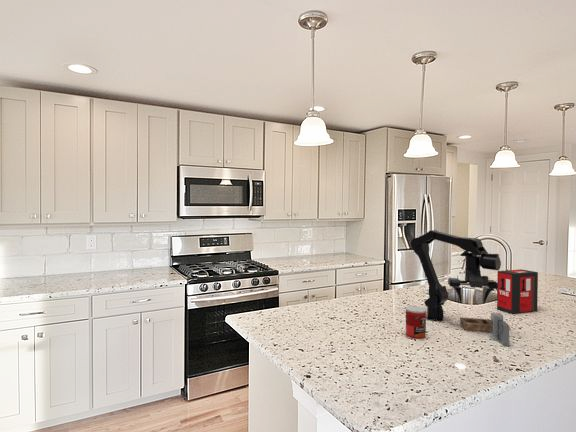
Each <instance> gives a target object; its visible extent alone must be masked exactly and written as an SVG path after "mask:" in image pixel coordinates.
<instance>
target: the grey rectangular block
mask: <svg viewBox="0 0 576 432" xmlns="http://www.w3.org/2000/svg"><path fill="white" fill-rule="evenodd" d="M497 341H498V343H500V344H501V346H503V347H510V324H508V323H507V321H505V320H503V321H499V336H498V340H497Z"/></svg>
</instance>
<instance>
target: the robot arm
mask: <svg viewBox="0 0 576 432" xmlns="http://www.w3.org/2000/svg"><path fill="white" fill-rule="evenodd" d="M434 241H439V242H444V243H447V244H451V245H453V246H454V245H455V246H457V247H459V248H460V249H461V250H463V252H462V253H461V254H460V256H461V257H465V268H464V275H465V276H464V280H461V279H459V278H456V277H449V278H448V279H447V284H448V286H450V287H452V288H453V289H454V290H455V294H456V295H457V298H458V301H459V303H462V292H461V291H462V287H461V286H469V287H470V288H473V289H474V288H479V289H482V301H481V302H482V304H483V305H484V304H485V303H486V301H487V299H488V297H489V295H490V293H491V292H492V291H495V290H497V289H498V283H497V281H495V280H493V279H489V276H488V275H482V273H481V272H482V271H481V268H482V269H485V270H491V271H497V272H498V271H500V269H501V266H502V261H501V258H500V254H499V253H488V251H487V250H486V248H485V247H484V245H483V242H482V240H481V238H480V239H479V238H478V237H477V238H476V237H466V236H465V237H463V236H458V235H454V234H450V233H446V232H443V231H438V230H436V229H433V230H429V231H428V232H426V233H425V234H422V235H420V236H418V237H413V238H412V239H411V241H410V247H411V248H412V249H411V250H413V253H415V254H416V256H417V257H418V258H419V261H420V264H421V267H422V270H423V273H424V275H425V278H426V281H427V285H428V296H429V297H428V298H427V299H425V300H424V305H425V307H426V319H427V320H428V321H440V322H442V321H444V309H443V306H444V305H445V303H446V302H447V301H448V299H449V292H448V291H447V286H446V285H442V284H441V283H440V282H439V281H440V280H439V278H438V275H437V272H436V271H435V267H434V265H433V261H432V259H431V256H430V244H431V243H433V242H434Z"/></svg>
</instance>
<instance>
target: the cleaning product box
mask: <svg viewBox="0 0 576 432" xmlns="http://www.w3.org/2000/svg"><path fill="white" fill-rule="evenodd" d="M496 282H497V283H498V289H496V290H497V291H496V293H497V294H496V297H497V298H496V310H497V311H499V310H500V312H503V313H506V314H510V315H513V316H514V315H518V314H519V315H521V314H529V313H537V312H538V294H539V293H538V292H539V291H538V289H539V288H538V287H539V286H538V285H539V284H538V283H539V273H538V271H533V270H528V269H522V268H521V269H511V270H510V269H507V270H498V271H497V281H496Z"/></svg>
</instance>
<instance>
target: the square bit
mask: <svg viewBox="0 0 576 432" xmlns="http://www.w3.org/2000/svg"><path fill="white" fill-rule="evenodd" d="M490 320H491V327H490V332H489V333H490V334H489V335H490V338H491V340H493V341H498V336H499V321H504V315H503V314H502V313H500V312H490Z"/></svg>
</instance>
